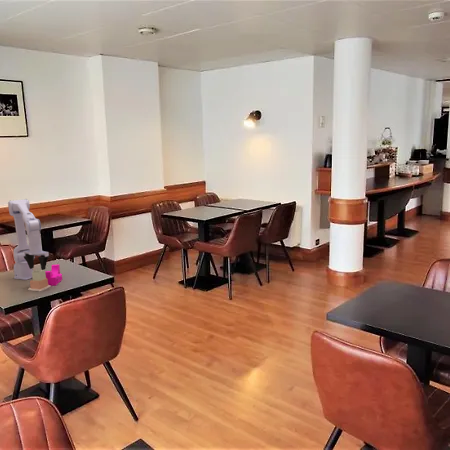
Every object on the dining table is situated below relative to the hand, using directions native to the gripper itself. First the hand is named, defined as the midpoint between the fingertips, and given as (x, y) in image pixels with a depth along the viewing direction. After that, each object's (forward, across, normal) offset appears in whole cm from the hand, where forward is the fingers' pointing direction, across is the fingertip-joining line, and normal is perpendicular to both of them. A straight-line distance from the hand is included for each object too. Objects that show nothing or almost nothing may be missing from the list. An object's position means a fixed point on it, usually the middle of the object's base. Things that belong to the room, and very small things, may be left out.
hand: (37, 268), depth 235 cm
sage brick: (+6, 0, 0) cm, 6 cm away
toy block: (+11, 0, +12) cm, 16 cm away
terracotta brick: (+10, 0, 0) cm, 10 cm away
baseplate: (+10, 0, 0) cm, 10 cm away
